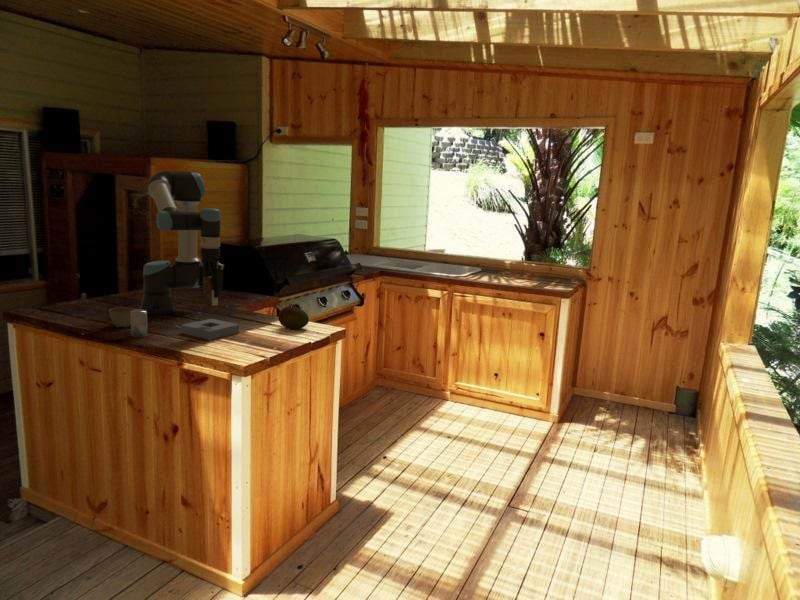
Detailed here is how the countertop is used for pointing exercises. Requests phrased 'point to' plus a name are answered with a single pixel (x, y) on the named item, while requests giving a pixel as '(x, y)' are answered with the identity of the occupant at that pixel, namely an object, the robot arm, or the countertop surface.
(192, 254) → the robot arm
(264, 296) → the countertop surface
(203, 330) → the socket plate
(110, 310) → the flower pot
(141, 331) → the round bit
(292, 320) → the fruit
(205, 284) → the wooden square peg
